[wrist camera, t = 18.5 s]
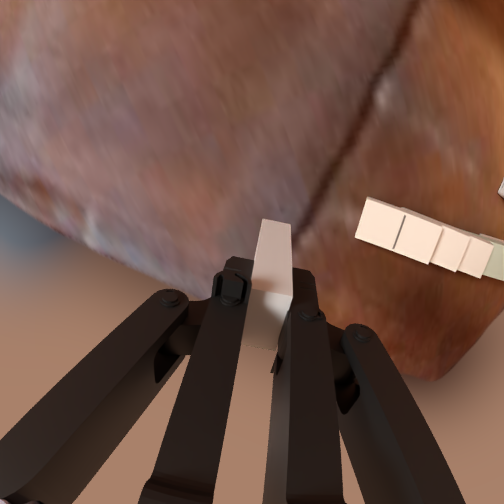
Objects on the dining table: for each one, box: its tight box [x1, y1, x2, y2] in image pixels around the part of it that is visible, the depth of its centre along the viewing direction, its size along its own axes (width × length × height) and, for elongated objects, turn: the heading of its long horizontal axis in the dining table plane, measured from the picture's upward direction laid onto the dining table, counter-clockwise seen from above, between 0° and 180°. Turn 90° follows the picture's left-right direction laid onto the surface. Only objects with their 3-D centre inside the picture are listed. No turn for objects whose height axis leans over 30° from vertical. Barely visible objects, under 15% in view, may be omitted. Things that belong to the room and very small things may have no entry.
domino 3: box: [441, 222, 494, 278], centre depth 34 cm, size 5×2×10 cm
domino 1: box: [355, 196, 443, 264], centre depth 34 cm, size 5×2×10 cm
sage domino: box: [460, 229, 504, 281], centre depth 34 cm, size 5×2×10 cm
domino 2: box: [401, 207, 471, 272], centre depth 34 cm, size 5×2×10 cm
